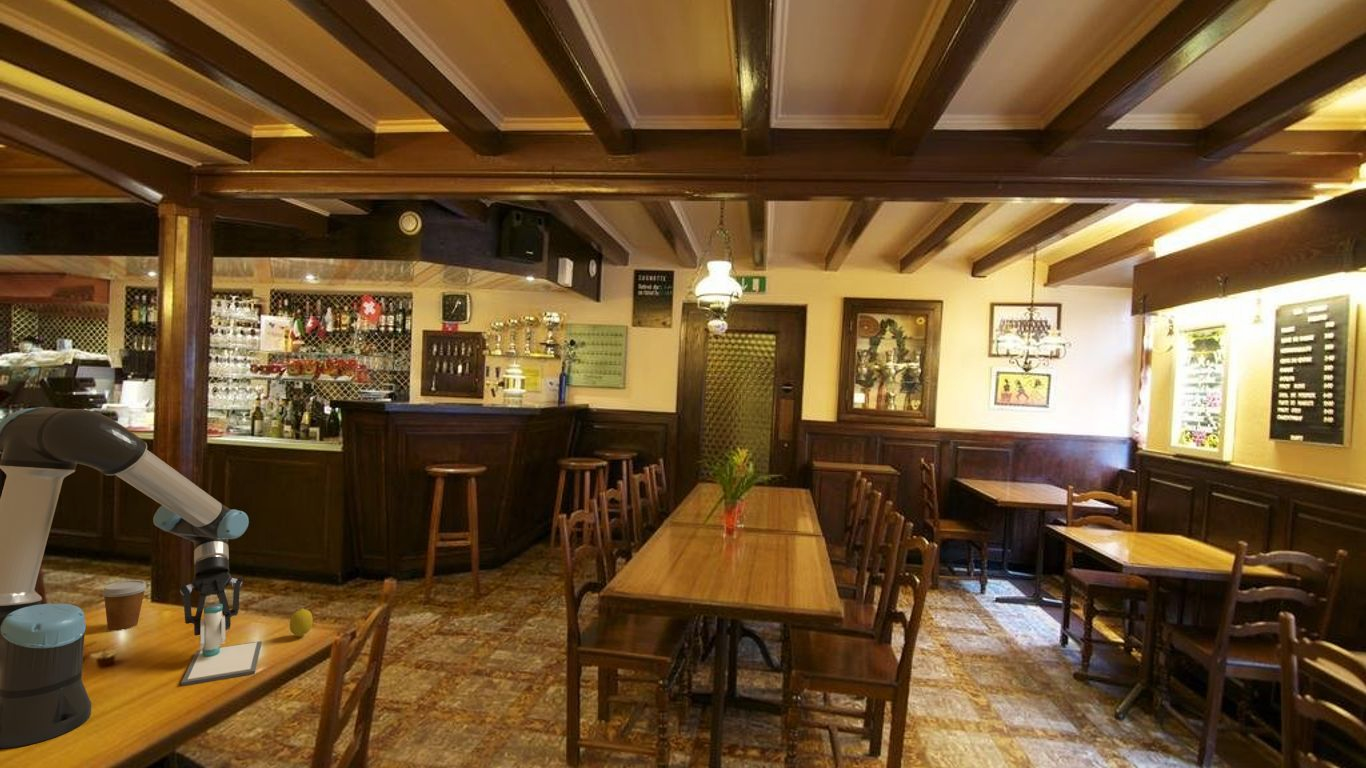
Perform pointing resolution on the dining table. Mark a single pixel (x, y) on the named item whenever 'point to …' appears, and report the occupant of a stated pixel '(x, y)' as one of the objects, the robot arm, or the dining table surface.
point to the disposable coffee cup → (123, 603)
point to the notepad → (223, 663)
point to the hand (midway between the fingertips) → (212, 643)
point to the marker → (212, 629)
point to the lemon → (301, 622)
